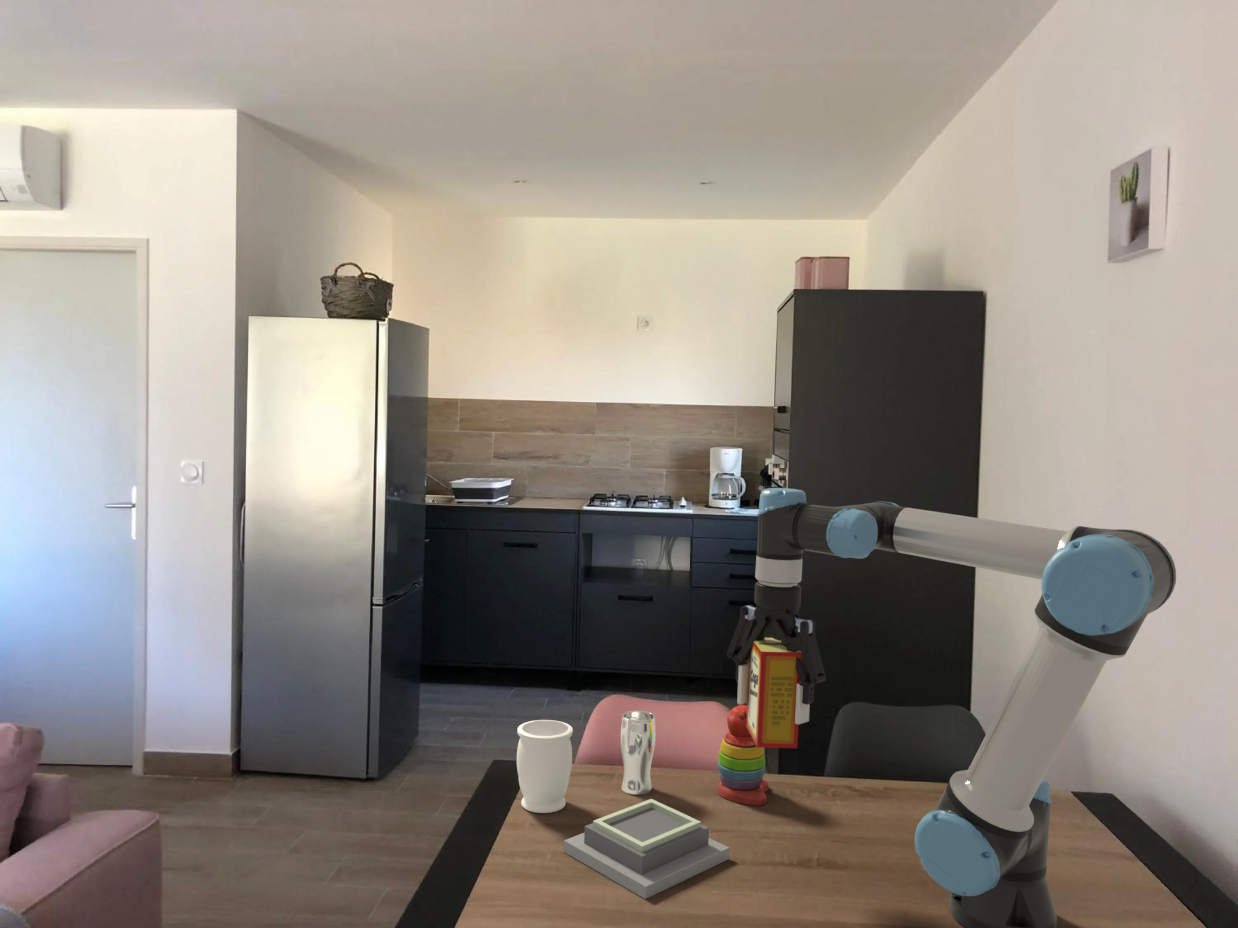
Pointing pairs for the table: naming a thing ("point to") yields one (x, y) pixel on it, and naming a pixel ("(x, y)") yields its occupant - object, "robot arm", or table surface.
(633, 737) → the beer glass
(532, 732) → the jar
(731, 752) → the stacking bear
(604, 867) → the plinth
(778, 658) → the baking soda box
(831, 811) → the table surface
